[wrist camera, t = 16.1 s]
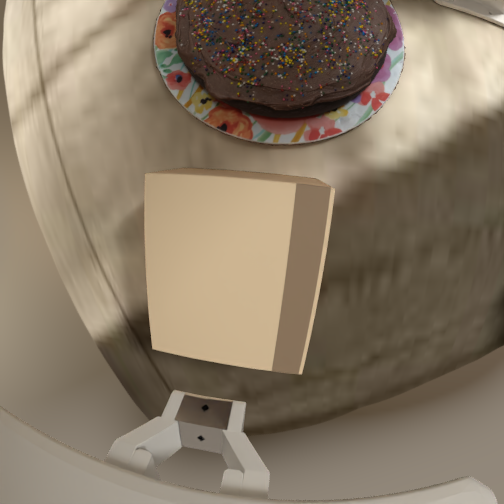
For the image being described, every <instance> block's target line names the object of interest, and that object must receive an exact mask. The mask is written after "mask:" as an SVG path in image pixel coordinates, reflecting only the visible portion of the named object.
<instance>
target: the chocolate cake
mask: <svg viewBox="0 0 504 504" xmlns="http://www.w3.org/2000/svg"><path fill="white" fill-rule="evenodd" d="M156 21H157V22H156V25H155V33H154V38H153V39H154V42H153V47H154V49H155V51H154V53H155V59H156V63H157V66H156V68H157V69H158V70H159V72H161V74H160V75H161V76H162V78H163V80H164V82H165V85H166V87H167V88H168V89H169V90H170V92H171V93H172V95H173V96H174V97H175V98H176V100H177V101H178V102H179V103H180V104H181V105H182V107H183V108H185V109H186V110H187V111H189V112H190V113H191V114H192V115H193V116H195V117H196V119H199V120H200V121H201V122H203V123H205V124H206V125H208V126H210V127H212V128H215V129H217V130H219V131H220V132H222V133H224V134H227V135H230V136H233V137H236V138H239V139H242V140H246V141H249V142H255V143H260V144H269V145H288V144H292V145H300V144H303V143H313V142H315V141H319V140H324V139H328V138H331V137H334V136H337V135H339V134H342V133H345V132H347V131H349V130H352V129H353V128H355V127H358V126H359V125H361V124H362V123H363V122H365V121H367V120H369V119H370V118H371V116H372V115H374V114H376V113H377V112H378V110H379V109H380V108H382V106H383V104H384V103H385V102H386V101H387V100H388V98H389V97H390V96H391V94H392V92H393V91H394V90H395V89H396V85H397V84H398V82H399V78H400V75H401V72H402V70H403V65H404V59H405V50H404V49H405V46H404V37H403V31H402V28H401V24H400V21H399V18H398V16H397V13H396V11H395V9H394V8H393V6H392V3H391V1H390V0H166V1H165V3H164V5H163V7H162V9H161V10H160V14H159V16H158V18H157V19H156Z"/></svg>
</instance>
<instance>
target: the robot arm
mask: <svg viewBox="0 0 504 504" xmlns="http://www.w3.org/2000/svg"><path fill="white" fill-rule="evenodd" d="M434 1H435V2H436V3H438V4H440V5H443V6H446V7H450V8H453V9H456V10H460V11H463V12H466V13H469V14H472V15H474V16H477V17H480V18H483V19H485V20H488V21H490V22H493V23H495V24H498V25H500V26H502V27H504V0H434ZM245 408H246V402H240V401H233V400H226V399H219V398H213V397H205V396H200V395H196V394H191V393H187V392H181V391H177V390H174V391H173V392H172V394H171V396H170V398H169V400H168V403H167V405H166V407H165V409H164V412H163V414H162V416H161V417H156V418H154V419H152V420H151V421H149V422H147V423H145V424H144V425H142V426H140V427H138V428H136V429H135V430H133V431H131V432H129V433H127V434H125V435H123V436H122V437H120V438H118V439H116V440H115V442H114V443H113V445H112V447H111V449H110V451H109V453H108V455H107V457H106V458H105V460H104V461H102V460H99V459H97V458H95V457H92V456H90V455H88V454H85V453H83V452H81V451H79V450H76V449H74V448H72V447H70V446H68V445H66V444H64V443H62V442H60V441H58V440H56V439H54V438H52V437H50V436H49V435H47V434H45V433H43V432H41V431H40V430H38V429H36V428H34V427H33V426H31V425H29V424H28V423H26V422H24V421H22V420H21V419H19V418H18V417H16V416H15V415H13V414H12V413H10V412H8V411H7V410H6V409H4V408H3V407H1V406H0V504H497V500H496V498H495V495H494V493H493V491H492V490H491V489H490V488H488V487H487V486H485V485H484V484H482V483H481V482H479V481H478V480H476V479H474V478H473V477H469V476H466V477H461V478H458V479H455V480H451V481H447V482H444V483H441V484H437V485H432V486H429V487H424V488H420V489H415V490H410V491H406V492H400V493H394V494H387V495H380V496H373V497H364V498H354V499H342V500H341V499H340V500H318V501H317V500H314V501H313V500H307V501H306V500H303V501H302V500H275V499H268V489H269V477H270V472H269V471H268V469H267V468H266V466H265V465H264V463H263V462H262V460H261V459H260V457H259V455H258V454H257V452H256V451H255V449H254V448H253V446H252V444H251V443H250V441H249V439H248V438H247V436H246V434H245V433H243V426H244V418H245ZM182 446H185V447H189V448H195V449H200V450H205V451H211V452H215V453H220V454H222V455H223V457H224V460H225V462H226V464H227V466H228V468H229V469H227V470H225V471H224V475H223V480H222V484H221V488H220V493H215V492H209V491H204V490H199V489H194V488H189V487H185V486H181V485H176V484H172V483H168V482H165V481H161V479H160V477H159V474H158V471H157V468H156V467H157V466H158V465H160V464H161V463H162V462H164V461H165V460H166V459H167V458H169V457H170V456H171V455H173V454H174V453H175V452H176V451H177V450H179V449H180V448H181V447H182Z"/></svg>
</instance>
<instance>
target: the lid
mask: <svg viewBox="0 0 504 504" xmlns="http://www.w3.org/2000/svg"><path fill="white" fill-rule="evenodd" d="M334 194H335V189H334V188H330V187H324V186H317V185H309V184H300V183H289V182H280V181H270V180H260V179H249V178H237V177H224V176H209V175H192V174H170V173H145V190H144V234H145V265H146V283H147V298H148V310H149V321H150V331H151V340H152V349H154V350H158V351H163V352H167V353H171V354H176V355H181V356H185V357H190V358H195V359H200V360H205V361H211V362H216V363H222V364H228V365H234V366H240V367H246V368H253V369H260V370H268V371H273V372H282V373H291V374H302V371H303V367H304V363H305V359H306V354H307V350H308V345H309V341H310V336H311V331H312V327H313V322H314V317H315V312H316V307H317V302H318V296H319V291H320V286H321V280H322V274H323V269H324V263H325V257H326V250H327V244H328V237H329V231H330V224H331V217H332V209H333V202H334Z"/></svg>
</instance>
